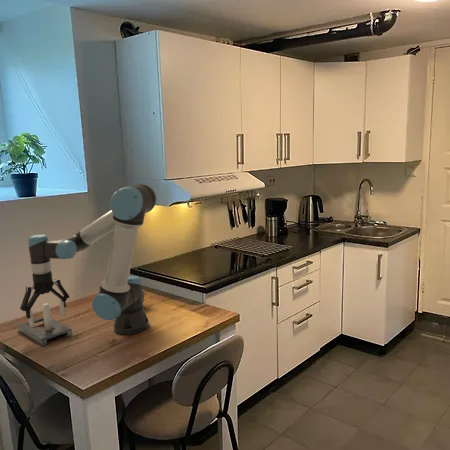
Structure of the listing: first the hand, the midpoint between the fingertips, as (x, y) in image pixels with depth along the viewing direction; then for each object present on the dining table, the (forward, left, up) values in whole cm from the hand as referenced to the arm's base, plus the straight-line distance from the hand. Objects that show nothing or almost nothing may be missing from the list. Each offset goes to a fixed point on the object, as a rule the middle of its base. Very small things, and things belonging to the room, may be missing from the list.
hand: (47, 320), depth 190 cm
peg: (0, 0, -7) cm, 7 cm away
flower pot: (-2, -42, -7) cm, 43 cm away
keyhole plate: (+4, 0, -7) cm, 8 cm away
